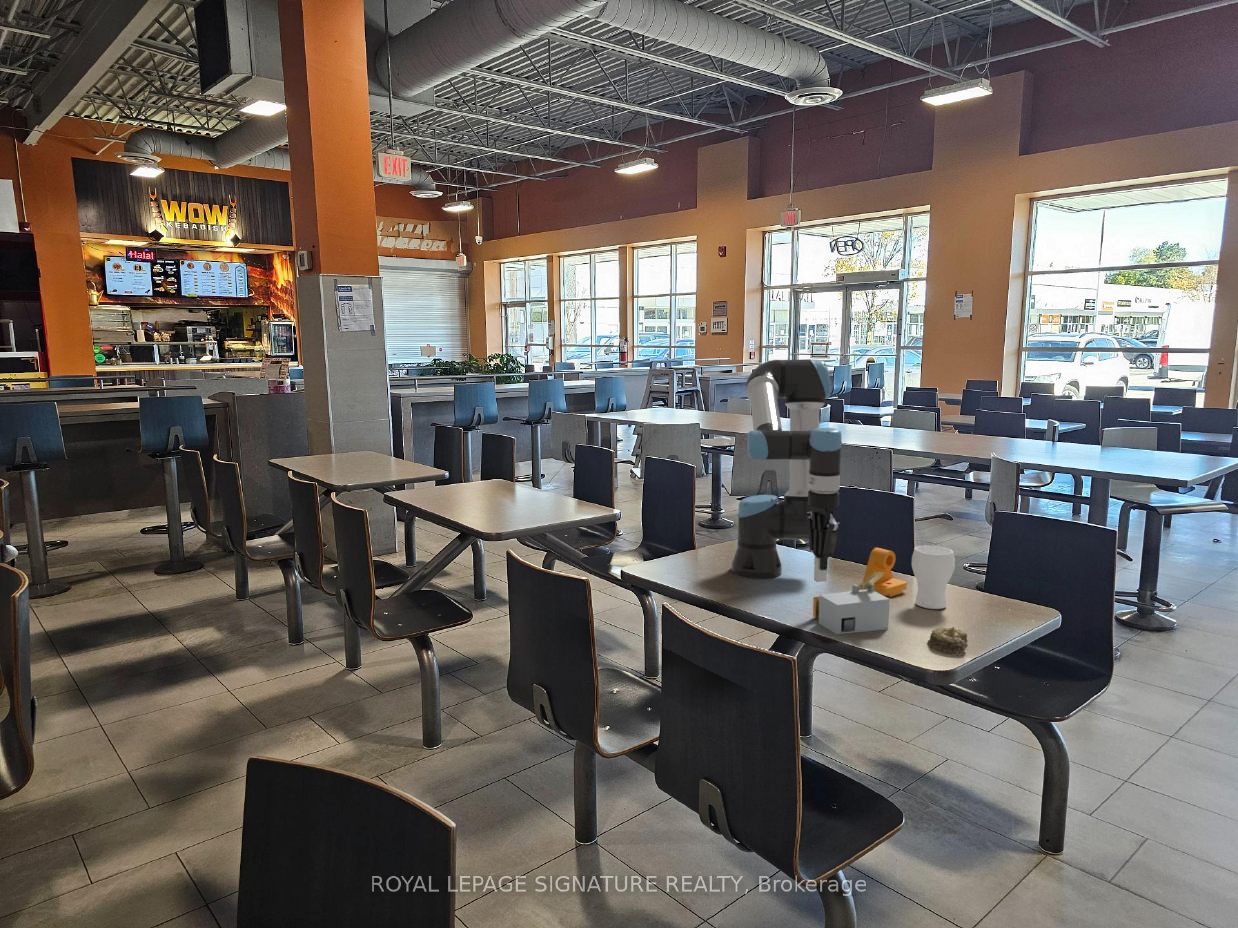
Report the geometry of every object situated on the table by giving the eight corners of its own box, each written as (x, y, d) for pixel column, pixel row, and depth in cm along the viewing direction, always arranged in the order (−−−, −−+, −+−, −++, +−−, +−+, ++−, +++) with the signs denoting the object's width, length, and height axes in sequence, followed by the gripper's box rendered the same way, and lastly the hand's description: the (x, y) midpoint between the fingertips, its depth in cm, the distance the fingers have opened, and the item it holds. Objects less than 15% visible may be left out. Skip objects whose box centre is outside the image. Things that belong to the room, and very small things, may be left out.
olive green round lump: (927, 654, 178) (928, 631, 177) (926, 638, 187) (927, 617, 186) (975, 660, 174) (976, 637, 173) (972, 644, 183) (973, 622, 183)
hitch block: (818, 625, 195) (819, 587, 194) (868, 619, 199) (870, 582, 198) (836, 637, 188) (837, 597, 186) (888, 630, 192) (889, 591, 190)
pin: (812, 616, 199) (813, 597, 198) (830, 613, 200) (830, 595, 200) (839, 633, 187) (840, 612, 187) (857, 630, 189) (858, 610, 188)
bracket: (884, 598, 215) (886, 556, 213) (862, 592, 221) (863, 550, 219) (907, 591, 221) (909, 550, 219) (885, 584, 227) (887, 544, 225)
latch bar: (857, 590, 196) (855, 585, 196) (868, 589, 197) (867, 584, 197) (874, 576, 189) (872, 571, 189) (885, 575, 190) (883, 570, 190)
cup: (909, 608, 207) (912, 553, 205) (909, 596, 217) (912, 543, 214) (953, 613, 203) (956, 556, 201) (951, 600, 213) (954, 546, 211)
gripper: (797, 486, 201) (794, 574, 205) (824, 497, 188) (820, 590, 193) (823, 484, 203) (819, 571, 207) (851, 494, 190) (847, 587, 195)
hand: (820, 580), depth 200 cm, fingers closed
